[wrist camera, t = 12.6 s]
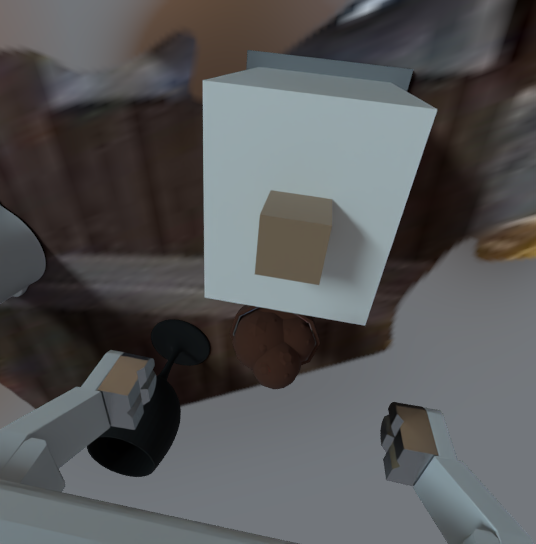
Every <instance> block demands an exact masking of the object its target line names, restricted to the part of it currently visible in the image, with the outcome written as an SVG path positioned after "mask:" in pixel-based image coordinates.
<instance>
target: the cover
mask: <svg viewBox="0 0 536 544" xmlns="http://www.w3.org/2000/svg"><path fill="white" fill-rule="evenodd" d="M436 112H437V109H436V108H434V107H432V106H431V105H429V104H427V103H425V102H424V101H422V100H420V99H418V98H417V97H415V96H413V95H412V94H410V93H408V92H406V91H405V90H403V89H401V88H399V87H398V86H396V85H394V84H392V83H390V82H381V81H373V80H365V79H356V78H348V77H339V76H331V75H323V74H314V73H306V72H298V71H289V70H281V69H272V68H264V67H257V68H253V69H248V70H244V71H240V72H236V73H232V74H227V75H223V76H219V77H215V78H210V79H206V80H203V166H204V275H205V298H211V299H217V300H222V301H228V302H234V303H239V304H245V305H251V306H256V307H262V308H268V309H273V310H279V311H285V312H290V313H296V314H302V315H308V316H313V317H319V318H325V319H330V320H336V321H342V322H347V323H353V324H359V325H364V326H365V324H366V321H367V318H368V315H369V312H370V309H371V306H372V303H373V300H374V297H375V294H376V291H377V288H378V285H379V282H380V279H381V276H382V273H383V270H384V267H385V264H386V261H387V258H388V255H389V252H390V249H391V246H392V244H393V241H394V238H395V235H396V232H397V229H398V226H399V223H400V220H401V217H402V214H403V211H404V208H405V205H406V202H407V199H408V196H409V193H410V190H411V187H412V184H413V181H414V178H415V175H416V172H417V169H418V166H419V163H420V160H421V157H422V154H423V151H424V148H425V145H426V142H427V139H428V136H429V133H430V130H431V127H432V124H433V121H434V118H435V115H436Z"/></svg>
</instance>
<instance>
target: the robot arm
mask: <svg viewBox="0 0 536 544" xmlns="http://www.w3.org/2000/svg"><path fill="white" fill-rule="evenodd" d="M45 266H46V262H45V256H44V252H43V249H42V247H41V245H40V243H39V241H38V240H37V238H36V237H35V235H34V234H33V233H32V231H31V230H30V229H29V228H28V227H27V226H26V225H25V224H24V223H23V222H22V221H21V220H20V219H19V218H18V217H16V216H15V215H14V214H12V213H11V212H9V211H8V210H6V209H5V208H4V207H2V206H1V205H0V304H1V303H2V302H4V301H5V300H7V299H9V298H10V297H12V296H14V297H19V296H21V295H22V294H24V293H25V292H26V290H27V288H28V286H29V285H30V284H32V283H34V282H36V281H37V280H39V279H40V278H41V277H42V275H43V274H44V271H45ZM154 366H155V364H154V359H153V358H148V357H143V356H139V355H134V354H129V353H124V352H119V351H114V350H110V351H108V352H107V353H106V354H105V355H104V357H103V358H102V359H101V361H100V362H99V363H98V365H97V366H96V367H95V369H94V370H93V371H92V373H91V374H90V376H89V377H88V378H87V380H86V381H85V382H84V384H83V385H82V386H81V387H75V388H73V389H72V390H70V391H68V392H66V393H64V394H63V395H61V396H59V397H57V398H55V399H54V400H52V401H50V402H48V403H46V404H45V405H43V406H41V407H39V408H37V409H36V410H34V411H32V412H30V413H29V414H27V415H25V416H23V417H21V418H20V419H18V420H16V421H14V422H12V423H10V424H9V425H7V426H5V427H3V428H1V429H0V544H298V543H293V542H288V541H284V540H280V539H275V538H270V537H265V536H261V535H256V534H252V533H247V532H243V531H238V530H234V529H229V528H224V527H220V526H215V525H210V524H206V523H201V522H197V521H192V520H187V519H182V518H178V517H174V516H169V515H164V514H160V513H155V512H150V511H145V510H141V509H136V508H132V507H127V506H123V505H118V504H113V503H109V502H104V501H99V500H94V499H90V498H85V497H81V496H76V495H72V494H67V493H62V491H63V489H64V487H65V482H64V479H63V477H62V475H61V473H60V471H59V468H60V467H61V466H63V465H64V464H65V463H66V462H68V461H69V460H70V459H71V458H73V457H74V456H75V455H76V454H77V453H79V452H80V451H81V450H83V449H84V448H85V447H86V446H88V445H89V444H90V443H91V442H93V441H94V440H95V439H96V438H98V437H99V436H100V435H101V434H103V433H104V432H105V431H106V430H108V429H109V428H110V426H114V427H120V428H126V429H132V430H135V429H136V427H137V425H138V423H139V421H140V419H141V417H142V415H143V413H144V410H143V405H144V404H146V403H148V402H149V401H150V399H151V397H152V395H153V393H154V390H155V386H156V374H155V373H154V371H153V368H154ZM388 410H389V415H387V416H385V417H384V419H383V421H382V425H381V445H382V447H383V448H384V450H385V451H386V452H387V453H386V456H385V457H384V459H383V461H384V467H385V474H386V480H388V481H392V482H396V483H401V484H405V485H410V486H414V487H413V488H414V490H415V492H416V493H417V495H418V496H419V498H420V500H421V501H422V503H423V504H424V506H425V508H426V509H427V511H428V512H429V514H430V515H431V517H432V519H433V520H434V522H435V524H436V525H437V527H438V528H439V530H440V531H441V533H442V535H443V536H444V538H445V540H446V541H447V543H448V544H534V542H533V540H532V538H531V537H530V536H529V535H528V534H527V533H526V532H525V531H524V529H523V528H522V527H521V526H520V525H519V524H518V523H517V522H516V520H515V519H514V518H513V517H512V516H511V515H510V514H509V513H508V511H507V510H506V509H505V508H504V507H503V506H502V505H501V504H500V503H499V502H498V500H497V499H496V498H495V497H494V496H493V495H492V494H491V493H490V491H489V490H488V489H487V488H486V487H485V486H484V485H483V484H482V483H481V481H480V480H479V479H478V478H477V477H476V476H475V475H474V474H473V472H472V471H471V470H470V469H469V468H468V467H467V466H466V465H465V463H464V462H463V461H459V460H457V456H456V453H455V450H454V447H453V444H452V441H451V438H450V435H449V432H448V429H447V425H446V422H445V419H444V416H443V413H442V412H441V411H440V410H435V409H429V408H423V407H420V406H414V405H408V404H402V403H396V402H392V403H391V404H390V406H389V408H388Z"/></svg>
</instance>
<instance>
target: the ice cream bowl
mask: <svg viewBox="0 0 536 544" xmlns="http://www.w3.org/2000/svg"><path fill="white" fill-rule="evenodd" d="M230 336H231V338H232V340H233V347H234V350H235V352H236V354H237V359H238V360H239V361H240V362H241V363H242V364H243V365H245V366H247V367H248V368H250V369H251V370H253V373H254V375H255V377H256V378H257V380H258V382H259V383H260V384H261V385H263V386H265V387H268V388H272V389H280V388H284V387H286V386H288V385H289V384H291V383H292V382H293V381H294V380H295V378H296V376H297V375H298V373H299V371H300V367H301V365H303V364H306V363H308V362H310V360H311V359H312V357H313V355H314V354H315V352H316V350H317V348H318V347H319V345H320V341H319V336H318V333H317V330H316V327H315V324H314V321H313V318H312V316H308V315H302V314H296V313H290V312H285V311H279V310H273V309H268V308H262V307H256V306H251V305H245V306H243V307H242V308H241V309H240V310H239V311H238V313H237V314H236V317H235V319H234V322H233V325H232V328H231V331H230Z"/></svg>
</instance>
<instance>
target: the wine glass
mask: <svg viewBox="0 0 536 544" xmlns="http://www.w3.org/2000/svg"><path fill="white" fill-rule="evenodd" d="M151 340H152V344H153V346H154V347H155V349H156V350H157V352H158V353H159V354H160V355H161V356H163V357H164V358H166V359H167V360H168V362H167V363H166V365H165V367H164V368H163V370H162V372H161V373H160V374H159V375H158V376H157V377H156V386H155V390H154V393H153V395H152V397H151V399H150V401H149V402H148V403H146V404H144V405H143V410H144V413H143V415H142V417H141V419H140V421H139V423H138V425H137V427H136V429H135V430H132V429H126V428H120V427H114V426H110V428H109V429H108V430H106V431H105V432H104V433H103V434H101V435H100V436H99V437H98V438H96V439H95V440H94V441H93V442H91V443H90V444H89V445H88V446H87V449H88V452H89V454H90V455H91V457H92V458H93V459H94V460H95V461H97V462H98V463H99V464H100V465H102V466H104V467H105V468H107V469H109V470H111V471H114V472H116V473H119V474H122V475H126V476H133V477H142V476H147V475H149V474H151V473H152V472H153V471H154V470H155V469H156V467H157V466H158V465H159V463H160V462H161V461H162V459H163V458H164V456H165V455H166V453H167V452H168V450H169V449H170V447H171V445H172V443H173V441H174V439H175V436H176V434H177V431H178V427H179V424H180V412H181V411H180V404H179V400H178V397H177V395H176V392H175V391H174V389H173V388H172V386H171V385H170V384H169V383H168V382H167V377H168V374H169V372H170V369H171V367H172V365H173V363H176V364H180V365H189V366H190V365H196V364H199V363H201V362H203V361H204V360H205V359H206V358H207V357H208V355H209V352H210V345H209V342H208V339H207V338H206V336H205V335H204V334H203V333H202V332H201V331H200V330H199V329H198V328H197V327H195V326H193V325H192V324H190V323H187V322H184V321H180V320H165V321H162V322H160V323H158V324H157V325H156V326H155V327H154V328H153V330H152V333H151Z"/></svg>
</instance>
